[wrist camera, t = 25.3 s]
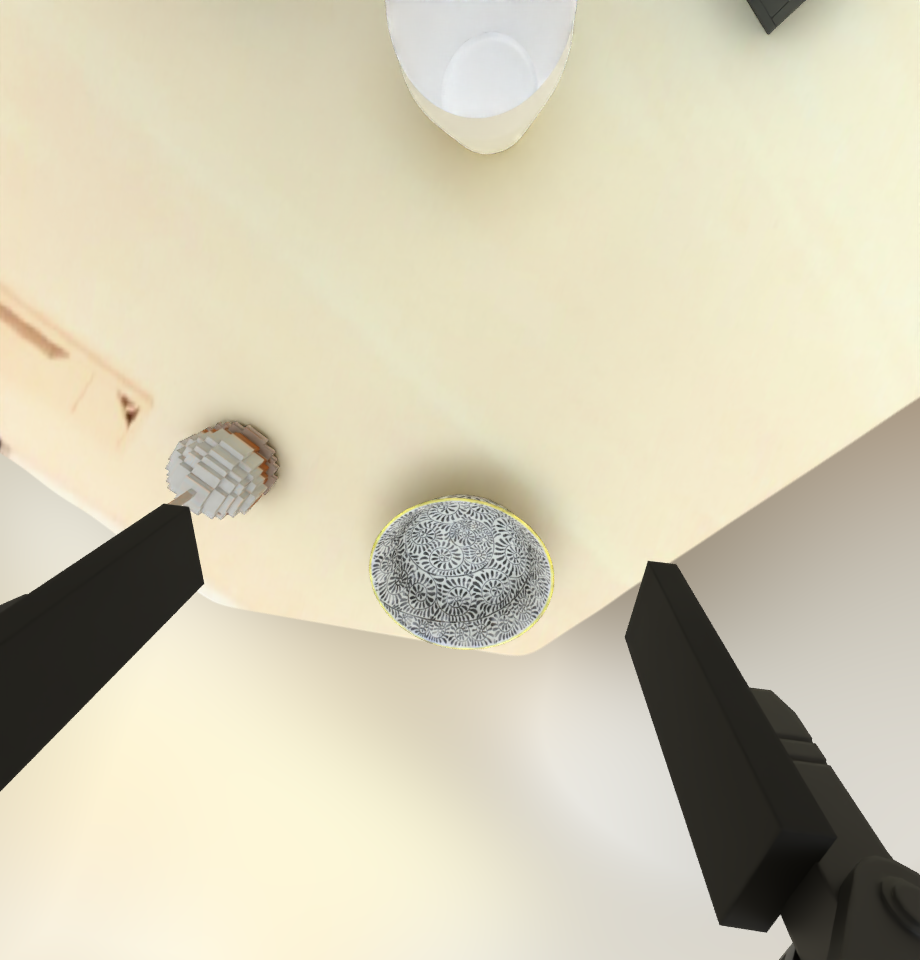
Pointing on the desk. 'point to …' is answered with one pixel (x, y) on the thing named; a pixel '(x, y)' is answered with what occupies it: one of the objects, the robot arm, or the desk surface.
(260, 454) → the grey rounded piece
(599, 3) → the desk surface
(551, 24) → the cup
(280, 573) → the desk surface
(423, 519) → the bowl
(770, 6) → the holder
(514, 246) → the desk surface
